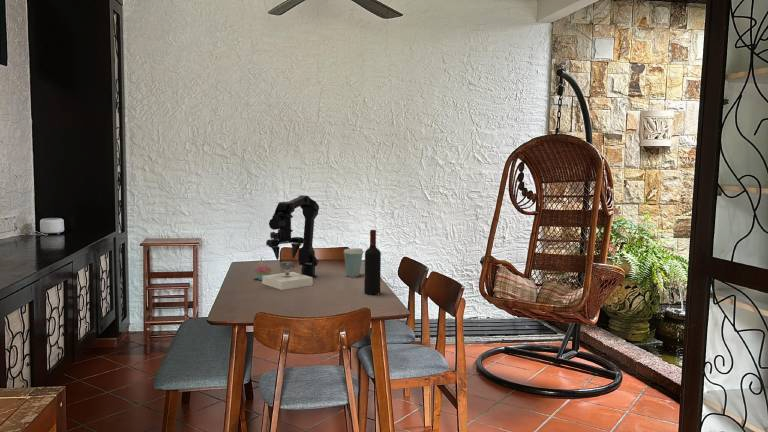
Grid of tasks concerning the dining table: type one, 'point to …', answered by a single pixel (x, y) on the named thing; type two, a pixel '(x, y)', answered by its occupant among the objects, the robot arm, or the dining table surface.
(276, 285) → the block
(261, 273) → the cupcake
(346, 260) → the disposable coffee cup
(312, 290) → the dining table surface
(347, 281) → the dining table surface
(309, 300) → the dining table surface
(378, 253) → the wine bottle
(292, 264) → the plunger
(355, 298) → the dining table surface
